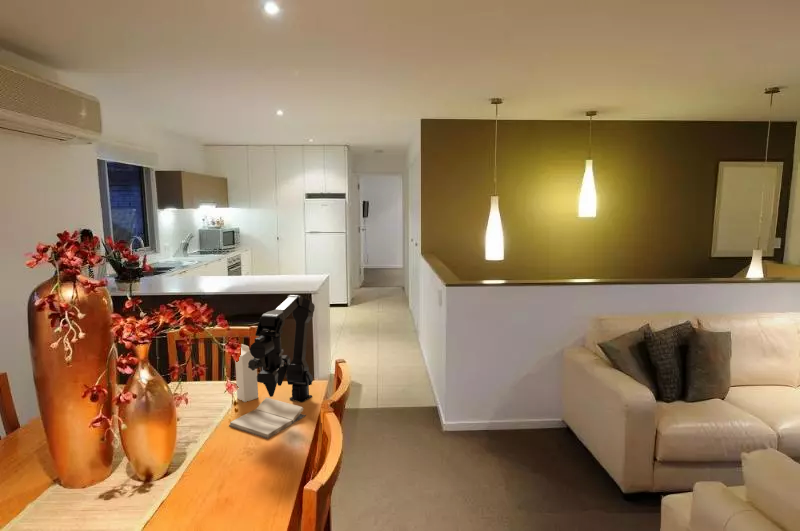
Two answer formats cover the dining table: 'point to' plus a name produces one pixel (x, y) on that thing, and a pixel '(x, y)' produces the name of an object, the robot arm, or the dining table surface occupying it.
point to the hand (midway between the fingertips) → (275, 390)
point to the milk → (246, 376)
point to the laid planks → (261, 423)
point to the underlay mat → (278, 431)
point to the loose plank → (280, 409)
